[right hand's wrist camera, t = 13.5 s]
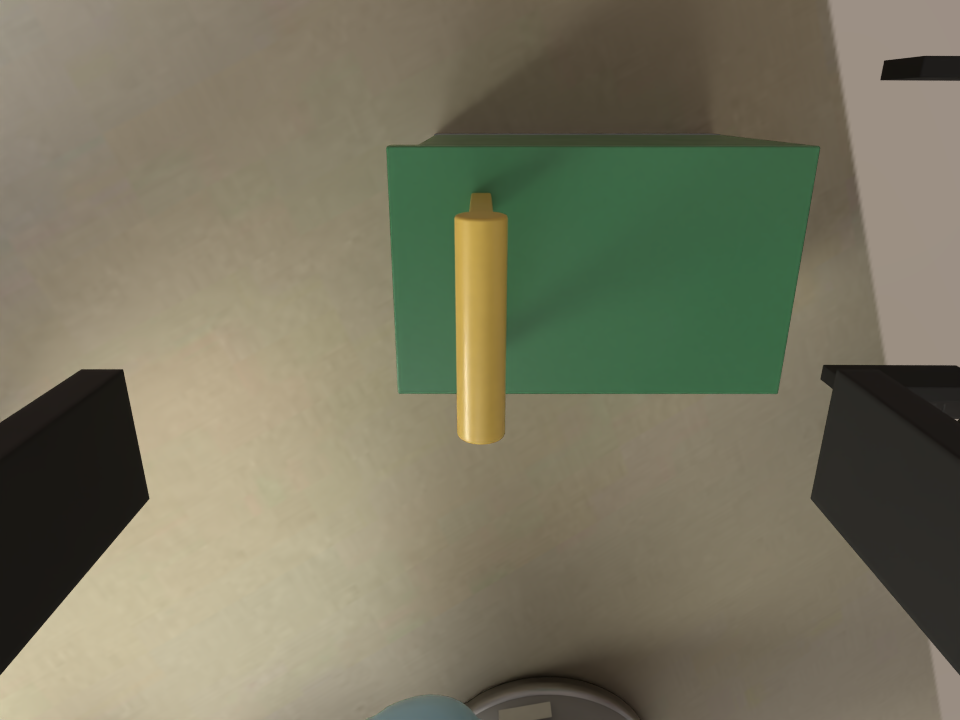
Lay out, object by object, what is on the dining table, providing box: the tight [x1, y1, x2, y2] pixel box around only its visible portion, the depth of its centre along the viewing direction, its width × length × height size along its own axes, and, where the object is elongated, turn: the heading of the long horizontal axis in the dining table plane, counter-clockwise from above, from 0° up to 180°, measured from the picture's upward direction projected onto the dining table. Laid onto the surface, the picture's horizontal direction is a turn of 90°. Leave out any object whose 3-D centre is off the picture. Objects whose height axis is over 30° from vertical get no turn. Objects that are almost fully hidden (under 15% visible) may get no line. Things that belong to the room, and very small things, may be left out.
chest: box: [420, 134, 804, 145], centre depth 30 cm, size 14×9×10 cm, turn 90°
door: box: [386, 145, 820, 444], centre depth 21 cm, size 15×9×8 cm, turn 90°
